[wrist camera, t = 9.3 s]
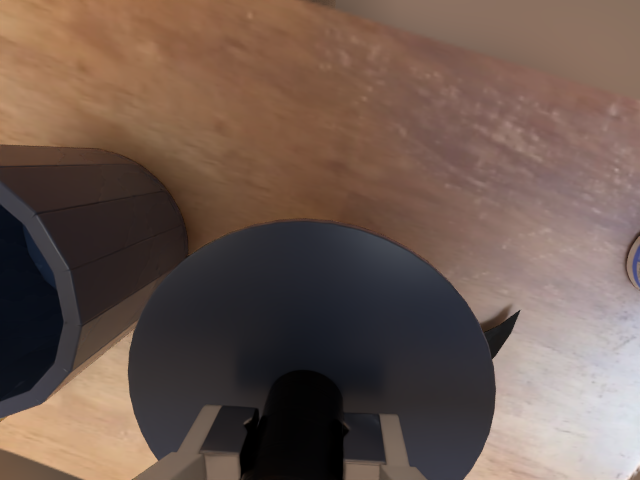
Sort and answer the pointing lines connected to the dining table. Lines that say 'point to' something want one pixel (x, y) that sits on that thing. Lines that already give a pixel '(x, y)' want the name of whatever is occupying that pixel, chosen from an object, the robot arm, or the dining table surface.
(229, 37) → the dining table surface
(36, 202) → the pot
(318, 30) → the dining table surface
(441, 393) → the lid
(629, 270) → the pill bottle
